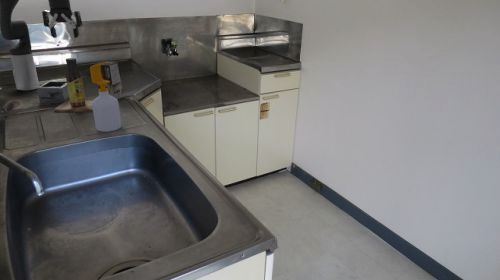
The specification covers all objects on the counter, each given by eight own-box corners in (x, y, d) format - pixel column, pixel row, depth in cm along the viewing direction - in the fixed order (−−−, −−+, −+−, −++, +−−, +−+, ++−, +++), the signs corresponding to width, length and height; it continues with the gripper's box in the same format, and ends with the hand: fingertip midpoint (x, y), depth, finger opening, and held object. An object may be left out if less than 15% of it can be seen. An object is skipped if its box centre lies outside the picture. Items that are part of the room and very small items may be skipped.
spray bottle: (107, 134, 138) (96, 66, 128) (91, 129, 142) (79, 63, 132) (126, 126, 145) (118, 61, 135) (110, 121, 149) (101, 58, 139)
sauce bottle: (80, 107, 162) (72, 60, 154) (67, 106, 163) (58, 60, 155) (89, 103, 168) (81, 57, 160) (76, 102, 169) (68, 56, 161)
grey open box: (36, 105, 167) (32, 90, 164) (51, 95, 181) (48, 81, 178) (61, 105, 167) (58, 90, 165) (75, 95, 182) (72, 80, 179)
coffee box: (124, 96, 180) (119, 62, 173) (114, 100, 174) (109, 65, 168) (109, 94, 183) (104, 60, 177) (99, 98, 178) (94, 63, 171)
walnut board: (54, 111, 160) (54, 109, 159) (66, 102, 171) (65, 100, 170) (93, 111, 160) (93, 109, 160) (102, 102, 171) (102, 100, 171)
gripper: (80, -6, 153) (86, 36, 159) (43, -6, 152) (51, 36, 159) (72, -4, 146) (79, 39, 153) (34, -5, 145) (43, 39, 152)
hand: (65, 37), depth 156 cm, fingers open, 8 cm apart
